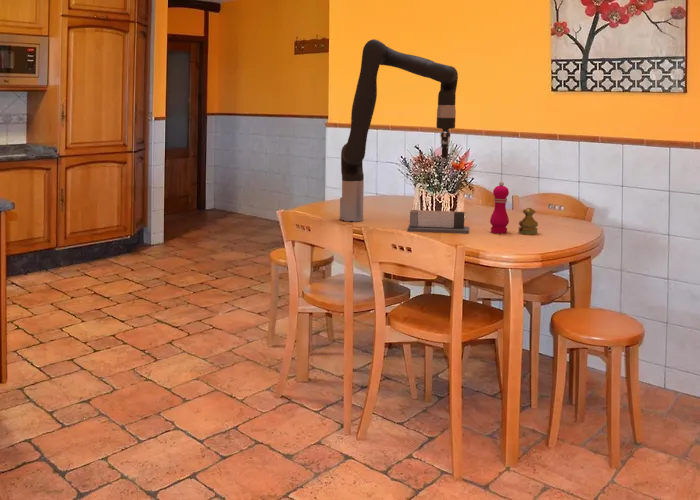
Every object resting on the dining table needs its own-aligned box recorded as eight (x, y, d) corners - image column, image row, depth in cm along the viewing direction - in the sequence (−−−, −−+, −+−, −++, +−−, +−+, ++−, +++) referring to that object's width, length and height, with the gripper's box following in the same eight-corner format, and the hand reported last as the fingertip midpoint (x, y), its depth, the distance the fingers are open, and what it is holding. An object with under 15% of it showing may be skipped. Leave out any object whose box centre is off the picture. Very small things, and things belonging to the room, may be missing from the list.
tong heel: (409, 226, 278) (410, 211, 277) (410, 224, 283) (411, 209, 281) (417, 226, 278) (417, 211, 276) (418, 224, 282) (418, 210, 281)
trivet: (407, 231, 276) (407, 228, 276) (409, 227, 285) (409, 224, 285) (468, 233, 273) (468, 230, 272) (468, 229, 281) (469, 226, 281)
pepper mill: (499, 234, 271) (502, 183, 267) (485, 231, 277) (488, 181, 272) (512, 232, 275) (514, 182, 271) (498, 229, 281) (500, 180, 277)
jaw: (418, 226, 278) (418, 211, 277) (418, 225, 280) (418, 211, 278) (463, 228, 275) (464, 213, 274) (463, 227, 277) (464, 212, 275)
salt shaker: (535, 231, 278) (537, 206, 276) (538, 235, 270) (540, 209, 268) (516, 231, 278) (518, 206, 276) (519, 234, 271) (521, 209, 269)
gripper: (455, 117, 275) (453, 158, 279) (455, 116, 289) (454, 155, 292) (435, 117, 276) (434, 158, 280) (437, 116, 290) (436, 155, 294)
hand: (444, 156), depth 286 cm, fingers open, 8 cm apart
